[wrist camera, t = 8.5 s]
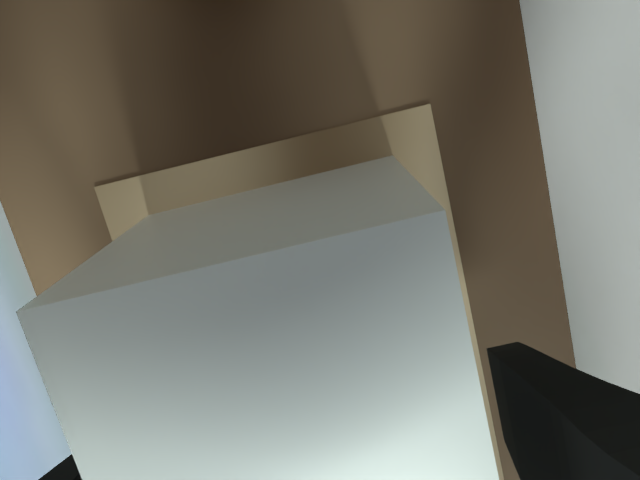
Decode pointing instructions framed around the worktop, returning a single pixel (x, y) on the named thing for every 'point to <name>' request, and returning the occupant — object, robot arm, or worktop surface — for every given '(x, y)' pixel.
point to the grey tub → (270, 340)
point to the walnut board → (284, 132)
